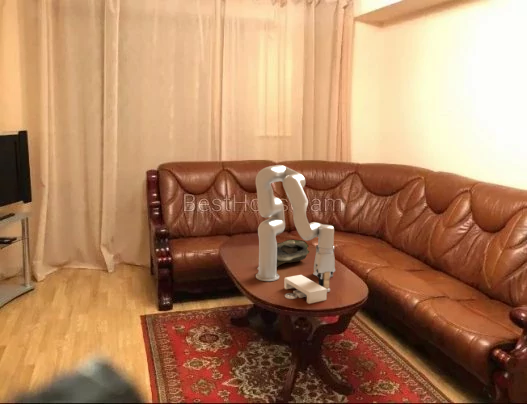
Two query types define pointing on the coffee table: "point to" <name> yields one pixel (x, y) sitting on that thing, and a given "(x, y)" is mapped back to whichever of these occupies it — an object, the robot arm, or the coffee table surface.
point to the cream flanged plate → (306, 288)
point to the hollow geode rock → (291, 251)
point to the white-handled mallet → (325, 285)
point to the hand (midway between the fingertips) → (323, 284)
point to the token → (290, 296)
